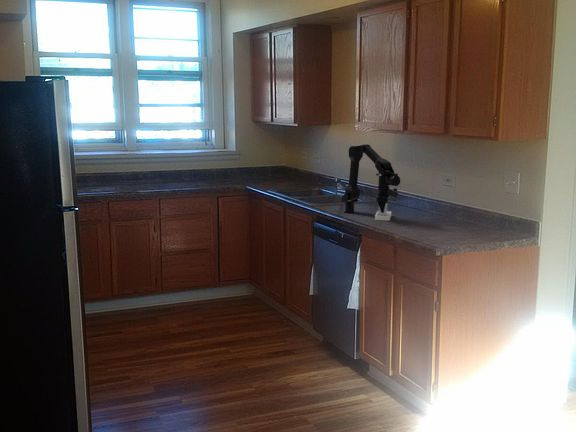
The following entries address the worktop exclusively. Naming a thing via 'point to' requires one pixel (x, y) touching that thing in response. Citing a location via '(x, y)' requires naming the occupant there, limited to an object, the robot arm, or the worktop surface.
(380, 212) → the box
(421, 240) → the worktop surface
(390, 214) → the power strip
